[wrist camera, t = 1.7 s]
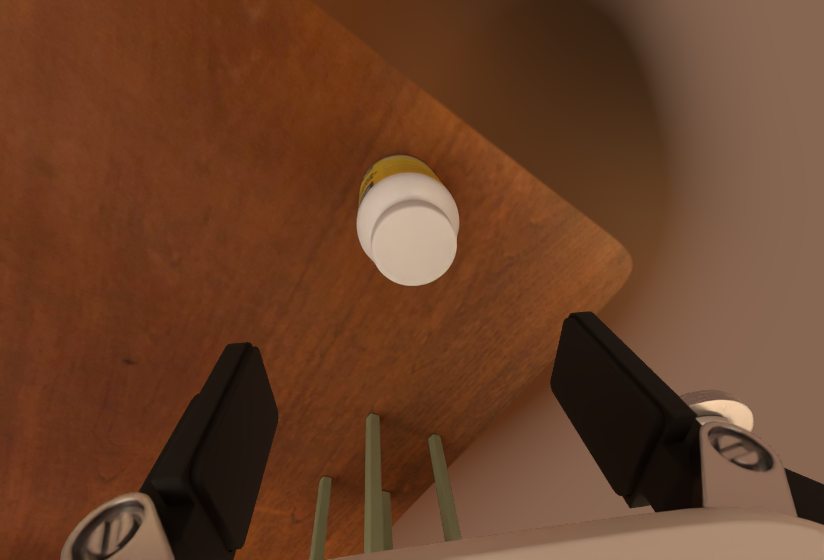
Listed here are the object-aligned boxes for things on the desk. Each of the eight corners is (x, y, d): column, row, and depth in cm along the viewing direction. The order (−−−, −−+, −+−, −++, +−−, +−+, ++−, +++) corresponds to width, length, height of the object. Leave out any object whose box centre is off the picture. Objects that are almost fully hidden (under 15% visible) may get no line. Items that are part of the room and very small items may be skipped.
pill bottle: (376, 138, 26) (380, 165, 16) (450, 172, 28) (496, 215, 18) (348, 214, 29) (337, 279, 19) (418, 241, 31) (441, 313, 21)
